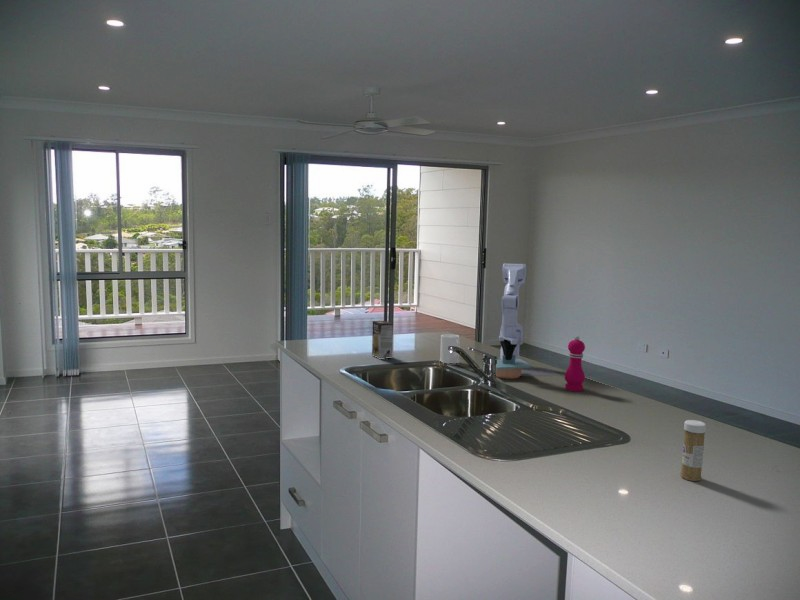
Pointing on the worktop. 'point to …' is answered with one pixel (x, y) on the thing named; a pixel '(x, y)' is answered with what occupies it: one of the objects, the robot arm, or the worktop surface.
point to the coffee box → (382, 339)
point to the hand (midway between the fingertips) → (507, 359)
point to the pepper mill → (575, 366)
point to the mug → (444, 353)
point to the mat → (538, 372)
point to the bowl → (509, 373)
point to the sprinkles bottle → (693, 450)
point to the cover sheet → (511, 363)
